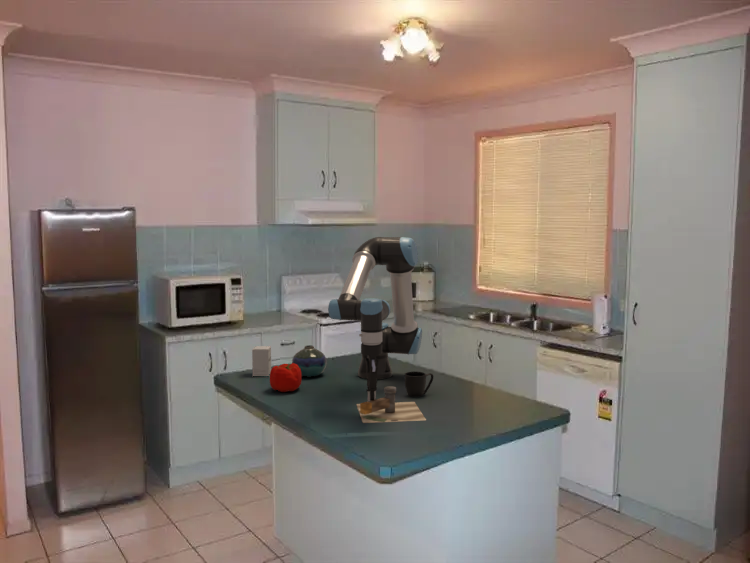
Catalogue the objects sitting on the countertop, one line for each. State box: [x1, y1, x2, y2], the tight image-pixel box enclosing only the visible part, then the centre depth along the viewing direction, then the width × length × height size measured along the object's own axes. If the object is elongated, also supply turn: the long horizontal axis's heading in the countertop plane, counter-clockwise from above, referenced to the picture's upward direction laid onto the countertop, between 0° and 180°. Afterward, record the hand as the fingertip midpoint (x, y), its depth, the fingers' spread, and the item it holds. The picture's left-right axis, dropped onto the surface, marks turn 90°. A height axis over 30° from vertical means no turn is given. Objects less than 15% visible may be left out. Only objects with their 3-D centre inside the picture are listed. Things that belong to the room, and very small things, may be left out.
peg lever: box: [359, 385, 397, 414], centre depth 225 cm, size 15×4×8 cm, turn 132°
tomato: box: [269, 362, 302, 393], centre depth 262 cm, size 14×13×10 cm
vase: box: [291, 344, 328, 378], centre depth 286 cm, size 15×15×13 cm
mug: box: [404, 371, 434, 398], centre depth 252 cm, size 8×12×10 cm
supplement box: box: [251, 345, 272, 377], centre depth 286 cm, size 7×7×13 cm
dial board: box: [356, 401, 427, 424], centre depth 230 cm, size 22×22×1 cm
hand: (371, 408), depth 227 cm, fingers closed
